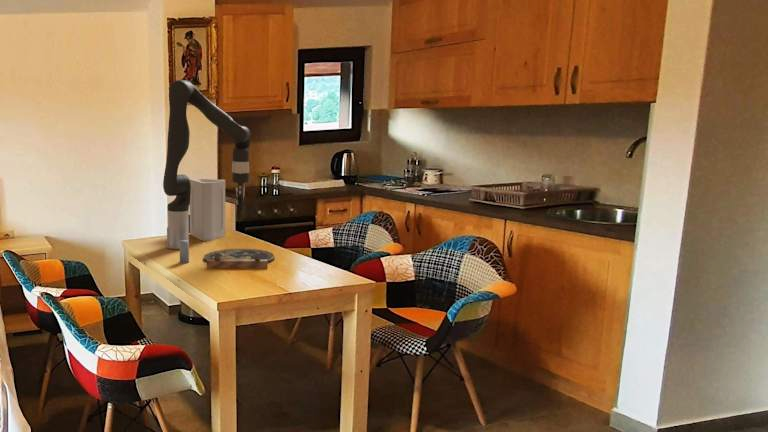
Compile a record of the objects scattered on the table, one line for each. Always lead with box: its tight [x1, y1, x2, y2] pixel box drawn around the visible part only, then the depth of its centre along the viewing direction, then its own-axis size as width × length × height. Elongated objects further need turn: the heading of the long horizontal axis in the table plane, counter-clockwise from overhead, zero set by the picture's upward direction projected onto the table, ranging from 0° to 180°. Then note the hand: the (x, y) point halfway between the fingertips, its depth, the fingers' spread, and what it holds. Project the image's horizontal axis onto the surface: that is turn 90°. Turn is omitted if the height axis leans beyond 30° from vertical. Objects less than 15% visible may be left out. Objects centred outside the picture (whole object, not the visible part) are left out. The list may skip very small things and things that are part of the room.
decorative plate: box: [202, 248, 275, 264], centre depth 294 cm, size 30×2×30 cm
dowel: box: [179, 240, 190, 264], centre depth 283 cm, size 4×4×9 cm
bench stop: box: [206, 253, 268, 269], centre depth 278 cm, size 24×3×6 cm, turn 100°
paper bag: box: [189, 178, 226, 242], centre depth 339 cm, size 19×15×28 cm
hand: (240, 210), depth 306 cm, fingers closed
